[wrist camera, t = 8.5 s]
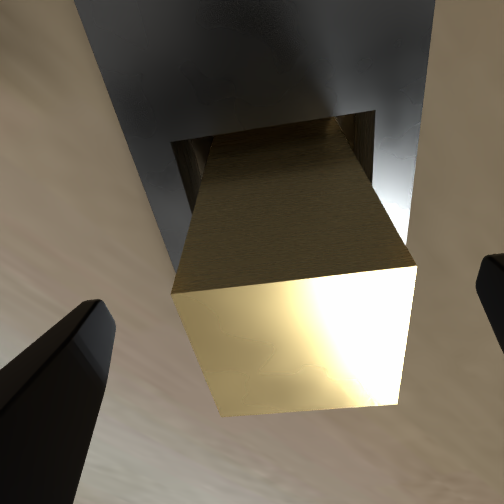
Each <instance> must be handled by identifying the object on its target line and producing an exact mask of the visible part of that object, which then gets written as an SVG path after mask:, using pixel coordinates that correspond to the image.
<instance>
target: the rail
mask: <svg viewBox="0 0 504 504" xmlns="http://www.w3.org/2000/svg"><path fill="white" fill-rule="evenodd" d="M74 2H75V5H76V7H77V10H78V13H79V16H80V18H81V21H82V24H83V26H84V29H85V32H86V34H87V37H88V40H89V42H90V45H91V48H92V50H93V53H94V56H95V58H96V61H97V64H98V66H99V69H100V72H101V74H102V77H103V80H104V82H105V85H106V88H107V90H108V93H109V96H110V98H111V101H112V104H113V106H114V109H115V112H116V114H117V117H118V120H119V122H120V125H121V128H122V130H123V133H124V136H125V139H126V141H127V144H128V147H129V149H130V152H131V155H132V157H133V160H134V163H135V165H136V168H137V171H138V173H139V176H140V179H141V181H142V184H143V187H144V189H145V192H146V195H147V197H148V200H149V203H150V205H151V208H152V211H153V213H154V216H155V219H156V221H157V224H158V227H159V229H160V232H161V235H162V237H163V240H164V243H165V245H166V248H167V251H168V253H169V256H170V259H171V261H172V264H173V267H174V270H175V272H176V273H177V269H178V266H179V262H180V258H181V255H182V251H183V247H184V244H185V240H186V236H187V233H188V229H189V225H190V222H191V218H192V214H193V211H194V207H195V203H196V200H197V196H198V192H199V189H200V185H201V181H202V179H201V176H200V172H199V168H198V164H197V161H196V157H195V153H194V149H193V145H192V142H191V139H192V138H199V137H205V136H212V135H218V134H224V133H231V132H237V131H244V130H250V129H256V128H263V127H269V126H276V125H282V124H288V123H295V122H301V121H308V120H314V119H321V118H327V117H333V116H340V115H346V114H353V113H355V129H354V154H355V156H356V158H357V160H358V161H359V163H360V165H361V167H362V169H363V170H364V172H365V174H366V176H367V177H368V179H369V181H370V183H371V185H372V186H373V188H374V190H375V192H376V194H377V195H378V197H379V199H380V201H381V203H382V204H383V206H384V208H385V210H386V211H387V213H388V215H389V217H390V219H391V220H392V222H393V224H394V226H395V228H396V229H397V231H398V233H399V235H400V236H401V238H402V240H403V242H404V244H405V245H406V240H407V231H408V223H409V215H410V207H411V198H412V190H413V182H414V173H415V165H416V157H417V148H418V140H419V132H420V123H421V115H422V107H423V99H424V90H425V82H426V74H427V65H428V57H429V49H430V40H431V32H432V24H433V15H434V7H435V0H74Z"/></svg>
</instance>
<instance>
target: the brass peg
mask: <svg viewBox="0 0 504 504" xmlns="http://www.w3.org/2000/svg"><path fill="white" fill-rule="evenodd" d="M416 270H417V265H416V263H415V262H414V260H413V258H412V256H411V254H410V253H409V251H408V249H407V247H406V245H405V244H404V242H403V240H402V238H401V236H400V235H399V233H398V231H397V229H396V228H395V226H394V224H393V222H392V220H391V219H390V217H389V215H388V213H387V211H386V210H385V208H384V206H383V204H382V203H381V201H380V199H379V197H378V195H377V194H376V192H375V190H374V188H373V186H372V185H371V183H370V181H369V179H368V177H367V176H366V174H365V172H364V170H363V169H362V167H361V165H360V163H359V161H358V160H357V158H356V156H355V154H354V152H353V151H352V149H351V147H350V145H349V144H348V142H347V140H346V138H345V136H344V135H343V133H342V131H341V129H340V127H339V126H338V124H337V122H336V120H335V118H334V117H327V118H321V119H314V120H308V121H301V122H295V123H288V124H282V125H276V126H269V127H263V128H256V129H250V130H244V131H237V132H231V133H224V134H218V135H214V137H213V141H212V145H211V148H210V152H209V156H208V159H207V163H206V167H205V170H204V174H203V178H202V181H201V185H200V189H199V192H198V196H197V200H196V203H195V207H194V211H193V214H192V218H191V222H190V225H189V229H188V233H187V236H186V240H185V244H184V247H183V251H182V255H181V258H180V262H179V266H178V269H177V273H176V277H175V280H174V284H173V288H172V291H171V296H172V299H173V301H174V304H175V306H176V308H177V311H178V313H179V316H180V318H181V321H182V323H183V326H184V328H185V330H186V333H187V335H188V338H189V340H190V343H191V345H192V348H193V350H194V352H195V355H196V357H197V360H198V362H199V365H200V367H201V370H202V372H203V374H204V377H205V379H206V382H207V384H208V387H209V389H210V391H211V394H212V396H213V399H214V401H215V404H216V406H217V409H218V411H219V413H220V416H221V417H232V416H245V415H258V414H271V413H284V412H298V411H311V410H324V409H337V408H350V407H363V406H377V405H390V404H397V402H398V395H399V388H400V381H401V374H402V367H403V360H404V353H405V346H406V339H407V333H408V326H409V319H410V312H411V305H412V298H413V291H414V284H415V277H416Z"/></svg>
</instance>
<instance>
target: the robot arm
mask: <svg viewBox="0 0 504 504" xmlns="http://www.w3.org/2000/svg"><path fill="white" fill-rule="evenodd" d="M476 291H477V294H478V296H479V299H480V301H481V303H482V306H483V308H484V310H485V312H486V315H487V317H488V319H489V322H490V324H491V326H492V329H493V331H494V333H495V336H496V338H497V340H498V343H499V345H500V347H501V349H502V351H503V353H504V253H501V254H492V255H487V256H485V257H484V258H483V260H482V262H481V266H480V269H479V273H478V276H477V280H476ZM115 332H116V325H115V321H114V319H113V317H112V315H111V314H110V312H109V310H108V308H107V307H106V305H105V303H104V302H103V301H102V300H100V299H95V300H87V301H84V302H82V303H81V304H80V305H78V306H77V307H76V308H75V309H74V310H72V311H71V312H70V313H69V314H67V315H66V316H65V317H64V318H63V319H61V320H60V321H59V322H58V323H57V324H55V325H54V326H53V327H52V328H50V329H49V330H48V331H47V332H46V333H44V334H43V335H42V336H41V337H40V338H38V339H37V340H36V341H35V342H34V343H32V344H31V345H30V346H29V347H27V348H26V349H25V350H24V351H23V352H21V353H20V354H19V355H18V356H17V357H15V358H14V359H13V360H12V361H10V362H9V363H8V364H7V365H6V366H4V367H3V368H2V369H1V370H0V504H73V502H74V498H75V494H76V491H77V487H78V484H79V480H80V477H81V473H82V470H83V466H84V463H85V459H86V456H87V452H88V449H89V445H90V442H91V438H92V435H93V431H94V427H95V424H96V420H97V417H98V413H99V410H100V406H101V403H102V399H103V396H104V392H105V388H106V383H107V379H108V373H109V367H110V361H111V355H112V349H113V343H114V338H115Z"/></svg>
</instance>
